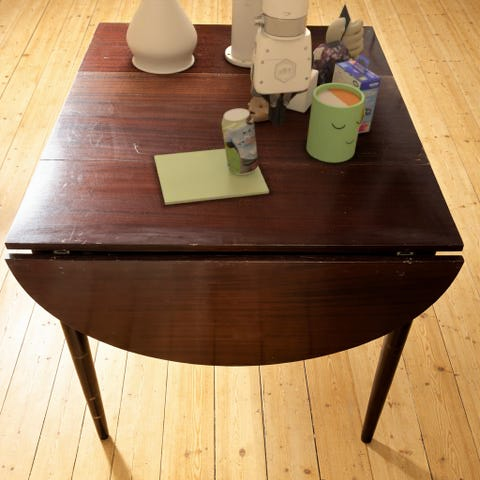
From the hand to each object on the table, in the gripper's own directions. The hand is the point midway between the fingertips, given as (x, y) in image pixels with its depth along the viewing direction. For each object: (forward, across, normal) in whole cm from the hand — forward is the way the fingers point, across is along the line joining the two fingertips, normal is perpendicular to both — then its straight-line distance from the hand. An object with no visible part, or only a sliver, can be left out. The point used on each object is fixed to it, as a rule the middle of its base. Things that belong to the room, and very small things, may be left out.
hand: (276, 122), depth 115 cm
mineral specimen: (+10, +23, +34) cm, 42 cm away
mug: (+10, +15, +5) cm, 19 cm away
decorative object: (+10, +30, +44) cm, 54 cm away
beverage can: (+10, -7, 0) cm, 12 cm away
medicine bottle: (+10, +12, +25) cm, 30 cm away
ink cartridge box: (+10, +21, +14) cm, 27 cm away
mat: (+10, -13, 0) cm, 16 cm away
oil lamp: (+10, +4, +21) cm, 24 cm away
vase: (+10, -15, +52) cm, 55 cm away
